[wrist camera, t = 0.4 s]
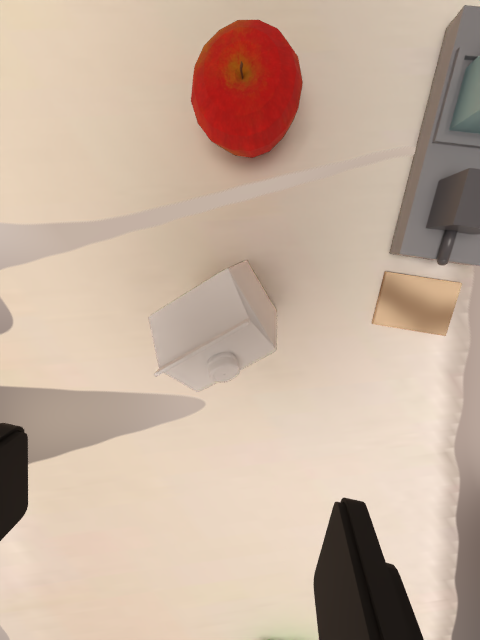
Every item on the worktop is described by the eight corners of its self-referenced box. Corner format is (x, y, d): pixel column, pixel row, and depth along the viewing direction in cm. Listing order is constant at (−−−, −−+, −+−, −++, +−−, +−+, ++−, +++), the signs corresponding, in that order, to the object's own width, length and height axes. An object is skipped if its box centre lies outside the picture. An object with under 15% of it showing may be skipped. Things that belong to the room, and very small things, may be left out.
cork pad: (384, 271, 35) (386, 271, 35) (459, 282, 35) (462, 283, 34) (371, 322, 37) (373, 324, 36) (442, 334, 36) (445, 335, 36)
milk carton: (196, 290, 38) (122, 329, 20) (246, 259, 37) (216, 271, 19) (227, 339, 39) (183, 420, 21) (277, 311, 38) (277, 372, 20)
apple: (284, 60, 32) (288, -45, 20) (306, 153, 34) (321, 104, 22) (198, 95, 34) (157, 16, 22) (224, 182, 35) (197, 151, 24)
